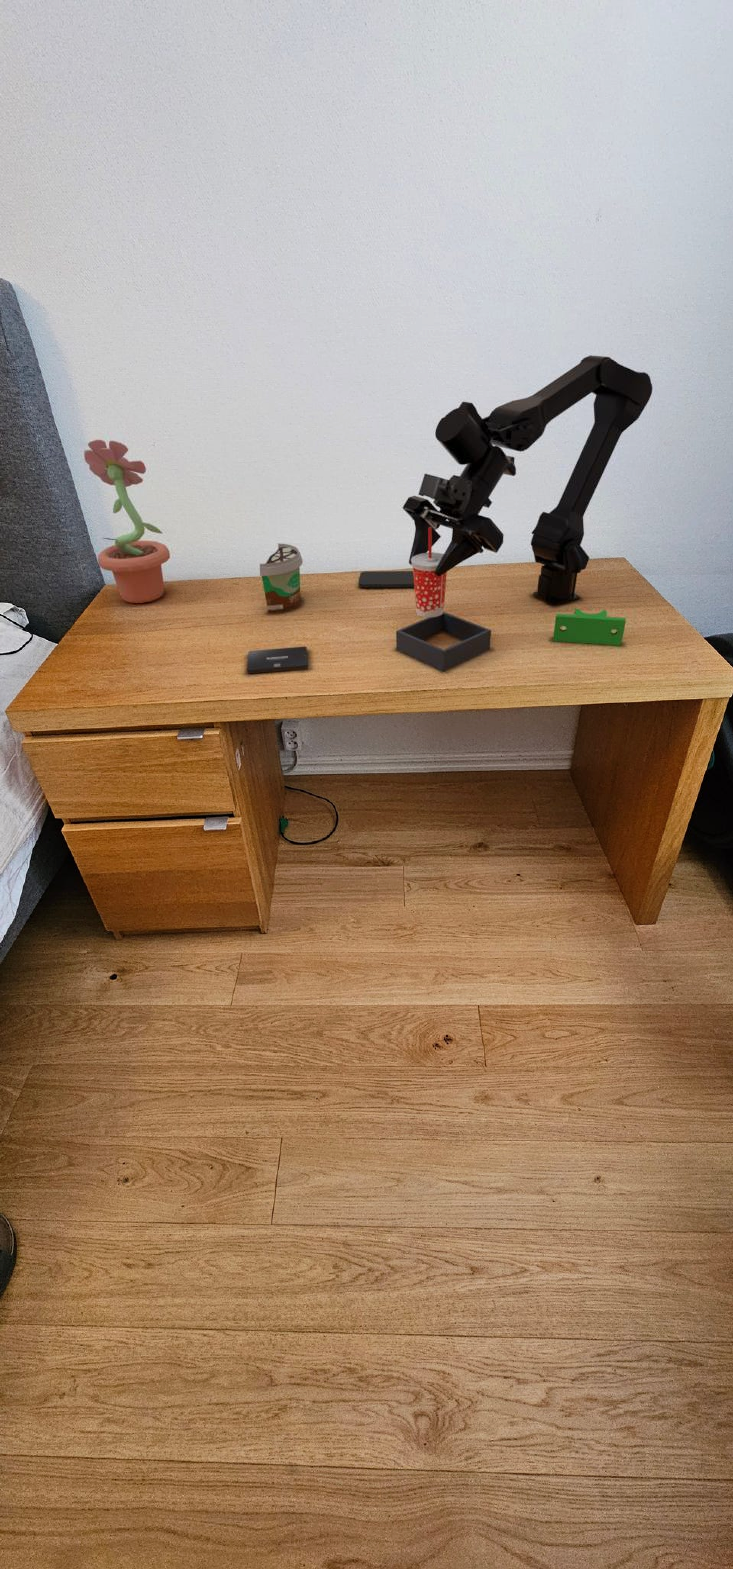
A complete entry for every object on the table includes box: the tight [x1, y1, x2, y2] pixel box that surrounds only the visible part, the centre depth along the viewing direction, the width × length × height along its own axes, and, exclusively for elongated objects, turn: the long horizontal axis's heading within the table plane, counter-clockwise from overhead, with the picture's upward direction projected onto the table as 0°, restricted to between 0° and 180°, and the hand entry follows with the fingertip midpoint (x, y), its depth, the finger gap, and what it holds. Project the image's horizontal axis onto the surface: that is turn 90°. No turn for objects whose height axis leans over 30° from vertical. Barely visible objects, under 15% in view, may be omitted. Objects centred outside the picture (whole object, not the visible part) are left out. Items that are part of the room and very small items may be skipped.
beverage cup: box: [410, 527, 448, 618], centre depth 113 cm, size 6×6×14 cm
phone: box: [358, 570, 414, 589], centre depth 143 cm, size 7×1×15 cm
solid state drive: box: [246, 646, 309, 674], centre depth 117 cm, size 7×10×1 cm
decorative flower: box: [83, 439, 171, 604], centre depth 134 cm, size 15×14×30 cm
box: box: [395, 611, 492, 672], centre depth 117 cm, size 11×11×4 cm
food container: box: [259, 543, 304, 614], centre depth 134 cm, size 12×6×10 cm, turn 168°
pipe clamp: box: [552, 608, 627, 646], centre depth 118 cm, size 11×4×5 cm, turn 76°
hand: (423, 569), depth 112 cm, fingers closed on beverage cup, 6 cm apart
